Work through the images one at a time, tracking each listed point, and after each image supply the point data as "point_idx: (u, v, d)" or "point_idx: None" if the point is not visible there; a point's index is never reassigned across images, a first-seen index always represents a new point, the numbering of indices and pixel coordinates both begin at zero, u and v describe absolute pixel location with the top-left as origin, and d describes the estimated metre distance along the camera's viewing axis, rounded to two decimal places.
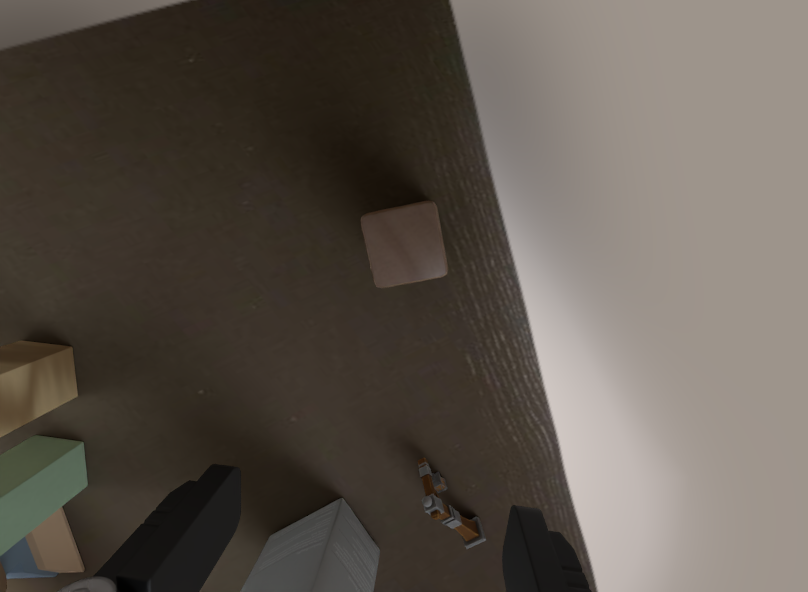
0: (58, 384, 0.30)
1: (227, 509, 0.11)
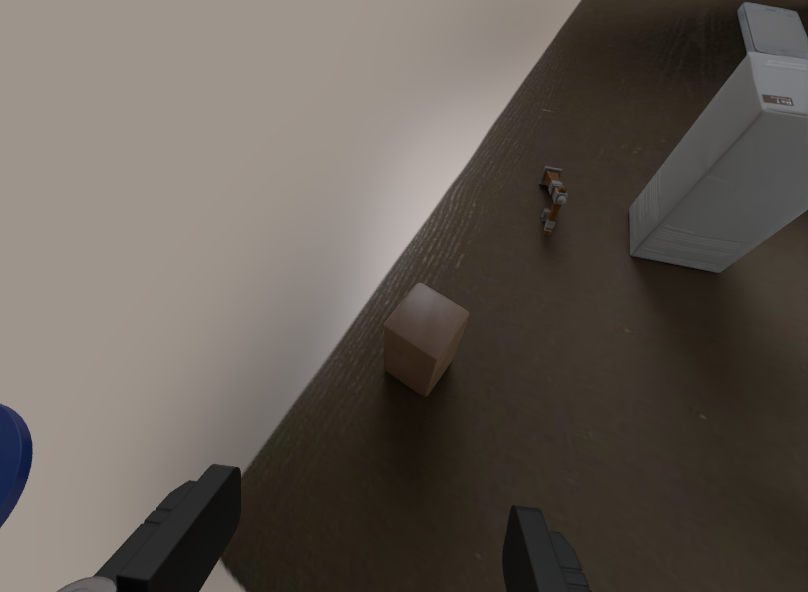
0: None
1: (227, 509, 0.11)
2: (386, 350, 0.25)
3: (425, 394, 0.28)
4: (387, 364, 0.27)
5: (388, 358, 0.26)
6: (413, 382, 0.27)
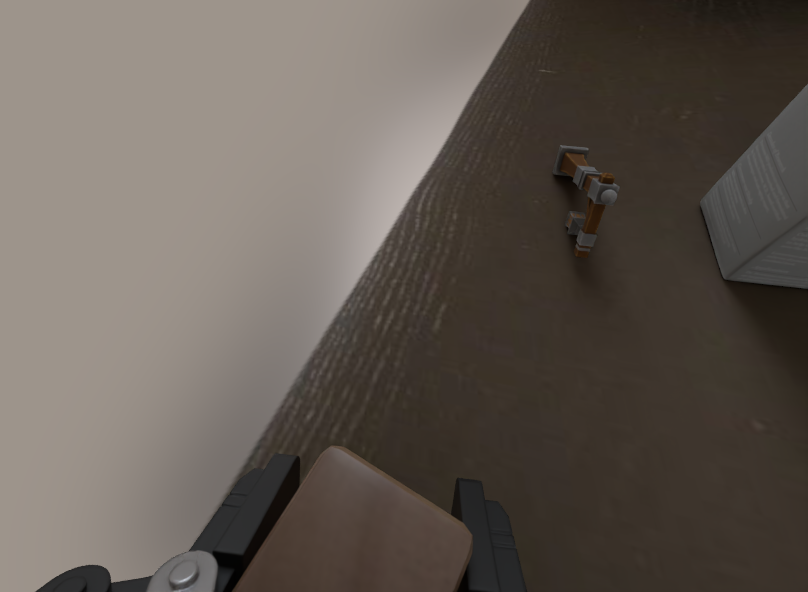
0: None
1: (290, 495, 0.11)
2: None
3: None
4: None
5: None
6: None
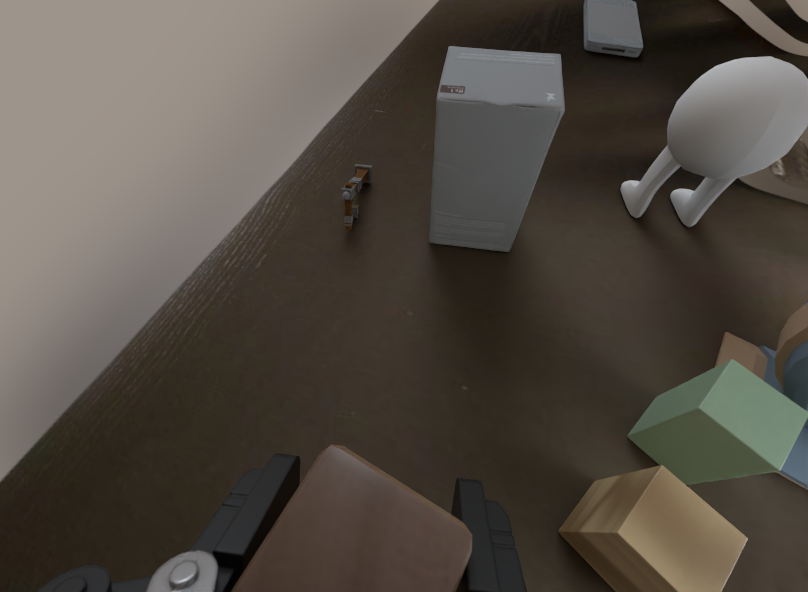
0: (589, 499, 0.25)
1: (291, 495, 0.11)
2: None
3: None
4: None
5: None
6: None
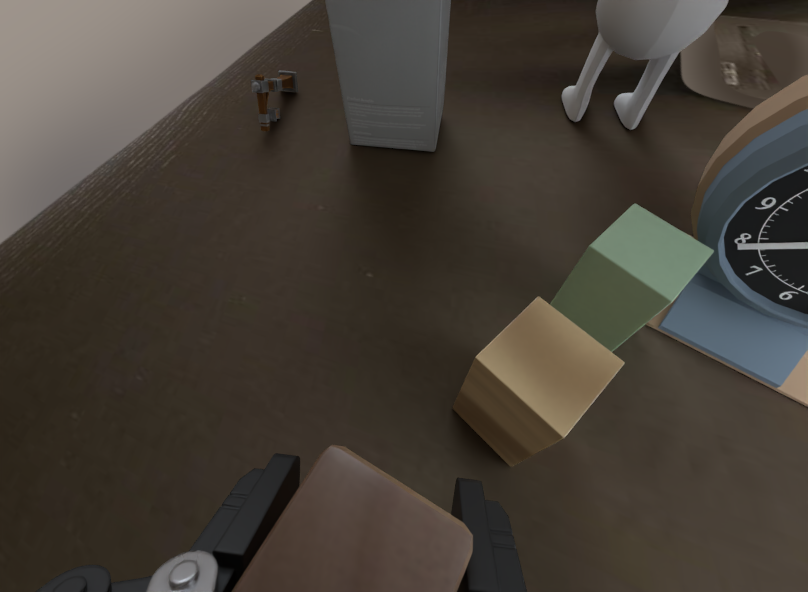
0: None
1: (290, 495, 0.11)
2: None
3: None
4: None
5: None
6: None
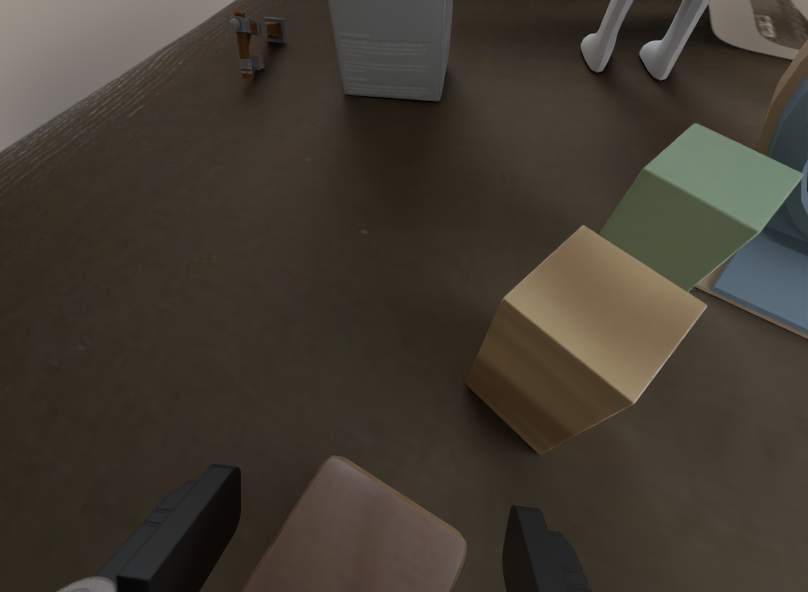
0: None
1: (227, 509, 0.11)
2: None
3: None
4: None
5: None
6: None
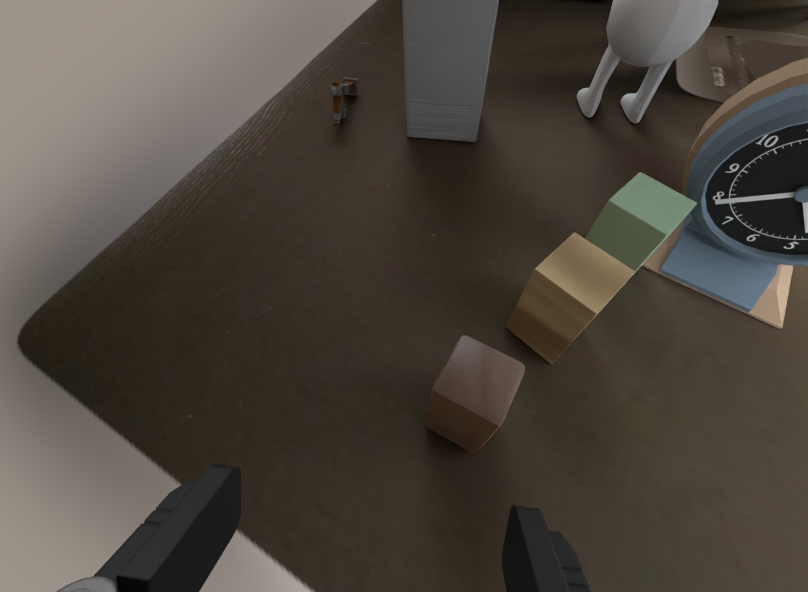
0: None
1: (227, 509, 0.11)
2: (432, 411, 0.23)
3: (475, 451, 0.25)
4: (430, 422, 0.25)
5: (433, 418, 0.24)
6: (462, 440, 0.24)
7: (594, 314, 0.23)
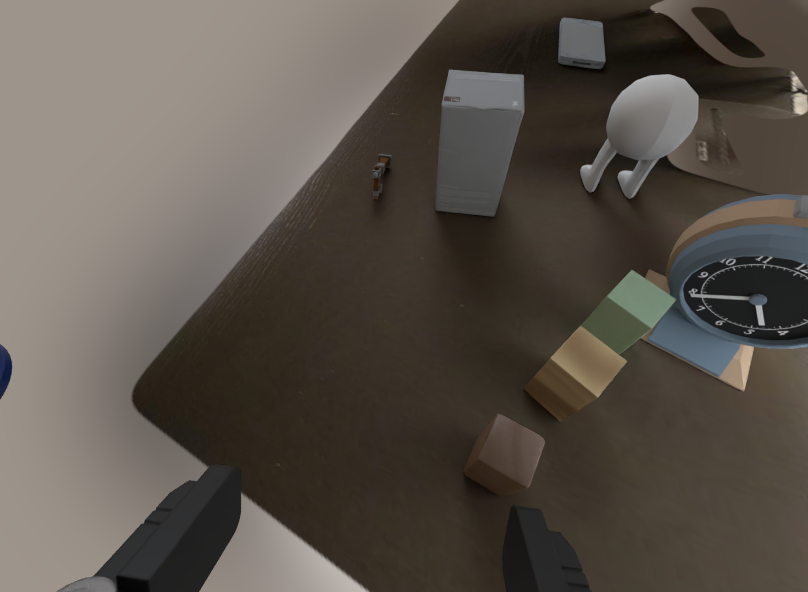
0: None
1: (227, 509, 0.11)
2: (473, 469, 0.30)
3: (503, 495, 0.33)
4: (469, 474, 0.32)
5: (472, 472, 0.31)
6: (494, 488, 0.32)
7: (595, 397, 0.30)
